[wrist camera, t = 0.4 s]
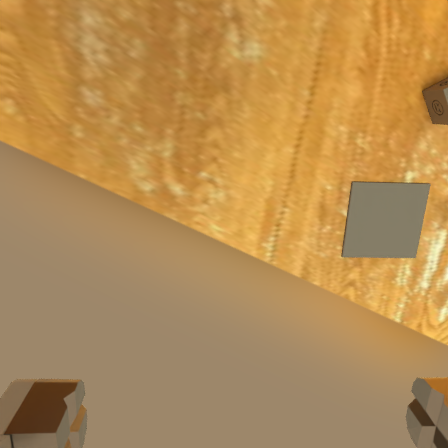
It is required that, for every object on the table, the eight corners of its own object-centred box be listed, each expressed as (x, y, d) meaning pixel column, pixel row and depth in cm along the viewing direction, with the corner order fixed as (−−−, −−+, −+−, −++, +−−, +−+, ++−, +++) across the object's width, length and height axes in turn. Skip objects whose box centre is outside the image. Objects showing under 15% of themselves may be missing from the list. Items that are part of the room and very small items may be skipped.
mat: (351, 181, 57) (352, 182, 56) (428, 183, 58) (430, 184, 57) (341, 256, 60) (342, 257, 60) (414, 257, 61) (415, 257, 61)
